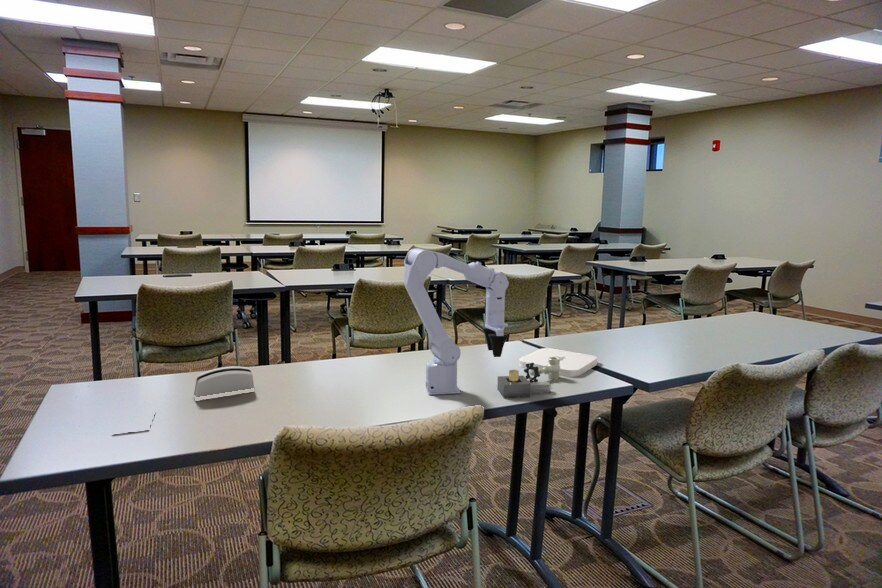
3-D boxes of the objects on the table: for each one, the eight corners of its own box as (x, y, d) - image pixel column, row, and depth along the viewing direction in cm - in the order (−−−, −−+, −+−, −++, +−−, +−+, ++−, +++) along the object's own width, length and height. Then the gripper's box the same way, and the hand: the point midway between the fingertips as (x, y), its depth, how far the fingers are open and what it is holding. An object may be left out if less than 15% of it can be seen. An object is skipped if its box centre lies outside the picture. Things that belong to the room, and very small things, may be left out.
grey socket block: (503, 398, 161) (503, 384, 160) (497, 389, 169) (497, 376, 168) (553, 396, 163) (553, 382, 162) (544, 387, 171) (545, 374, 170)
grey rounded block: (251, 387, 170) (252, 360, 166) (255, 396, 166) (256, 369, 162) (192, 396, 162) (191, 368, 157) (195, 406, 158) (194, 378, 154)
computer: (515, 367, 193) (515, 360, 192) (543, 354, 210) (543, 347, 210) (575, 379, 180) (575, 371, 179) (599, 363, 197) (600, 356, 197)
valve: (551, 374, 184) (523, 380, 178) (551, 355, 183) (523, 360, 177) (565, 379, 179) (537, 386, 172) (566, 359, 178) (538, 365, 171)
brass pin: (510, 392, 164) (511, 372, 163) (507, 389, 166) (507, 370, 165) (519, 391, 164) (520, 372, 163) (516, 388, 167) (516, 369, 166)
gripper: (513, 314, 163) (512, 359, 166) (502, 305, 178) (501, 346, 180) (490, 315, 162) (489, 360, 165) (480, 306, 177) (480, 347, 179)
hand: (494, 353), depth 172 cm, fingers open, 7 cm apart
